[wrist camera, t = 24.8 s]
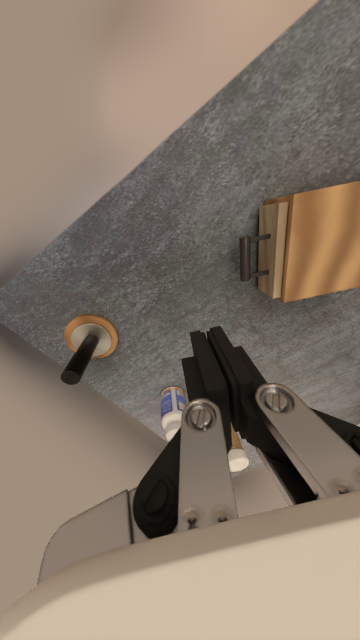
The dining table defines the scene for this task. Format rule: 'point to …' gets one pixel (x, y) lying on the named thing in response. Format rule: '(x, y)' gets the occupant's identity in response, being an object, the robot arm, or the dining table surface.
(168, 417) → the pill bottle
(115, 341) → the disc
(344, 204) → the cabinet
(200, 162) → the dining table surface
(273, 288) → the drawer
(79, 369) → the rod on disc base
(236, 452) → the sprinkles bottle
